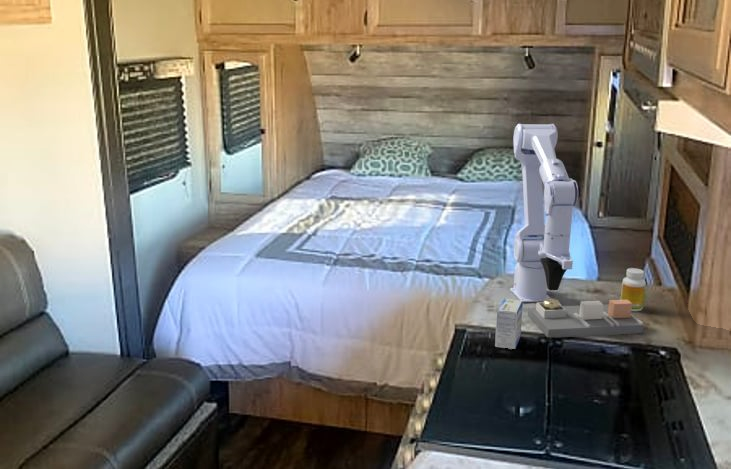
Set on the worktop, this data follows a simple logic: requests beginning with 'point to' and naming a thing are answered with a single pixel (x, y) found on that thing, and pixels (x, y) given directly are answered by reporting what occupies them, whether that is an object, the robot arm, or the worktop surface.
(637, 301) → the supplement bottle
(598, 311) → the ivory rectangular block
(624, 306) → the salmon orange block
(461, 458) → the worktop surface
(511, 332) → the medicine box
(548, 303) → the brass button
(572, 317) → the switch panel
